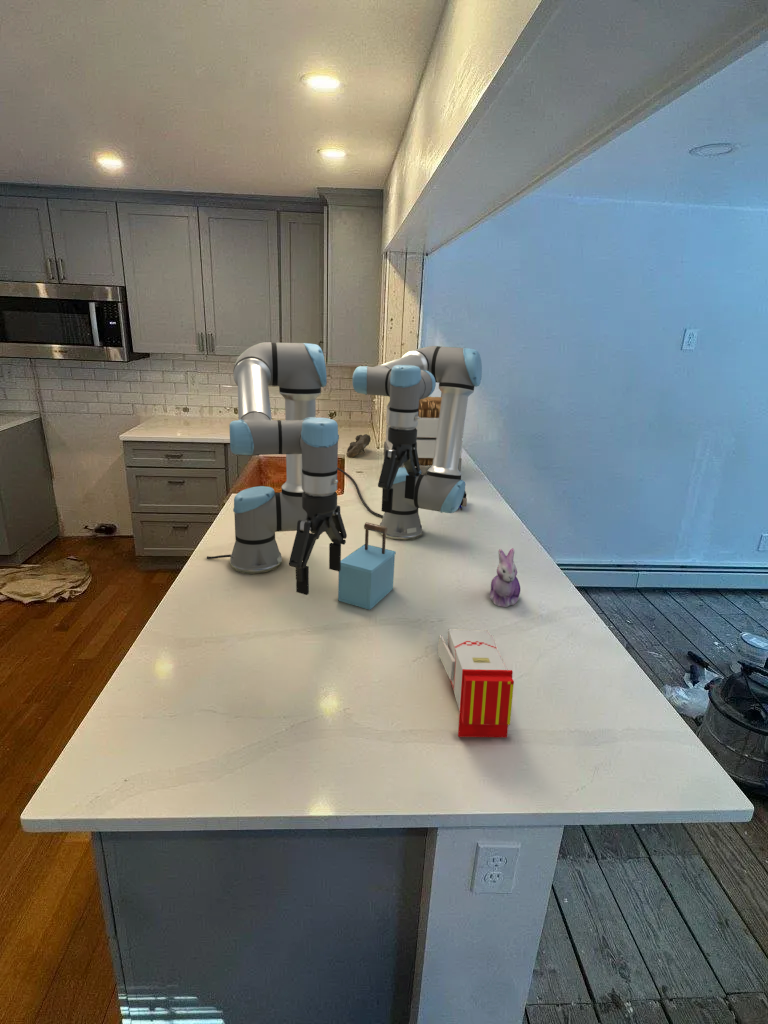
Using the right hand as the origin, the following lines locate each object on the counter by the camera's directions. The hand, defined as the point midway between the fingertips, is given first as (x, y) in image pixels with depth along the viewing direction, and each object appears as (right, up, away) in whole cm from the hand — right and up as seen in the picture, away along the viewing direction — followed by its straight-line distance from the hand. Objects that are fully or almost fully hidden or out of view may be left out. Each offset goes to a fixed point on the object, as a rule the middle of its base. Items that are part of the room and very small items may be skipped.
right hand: (398, 505), depth 153 cm
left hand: (-19, -17, -25) cm, 36 cm away
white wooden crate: (+13, +17, +121) cm, 123 cm away
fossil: (-18, +30, +153) cm, 157 cm away
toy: (+14, -39, -35) cm, 54 cm away
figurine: (+29, -26, +4) cm, 40 cm away
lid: (-8, -15, 0) cm, 17 cm away
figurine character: (+26, 0, +77) cm, 81 cm away
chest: (-9, -25, +3) cm, 27 cm away
